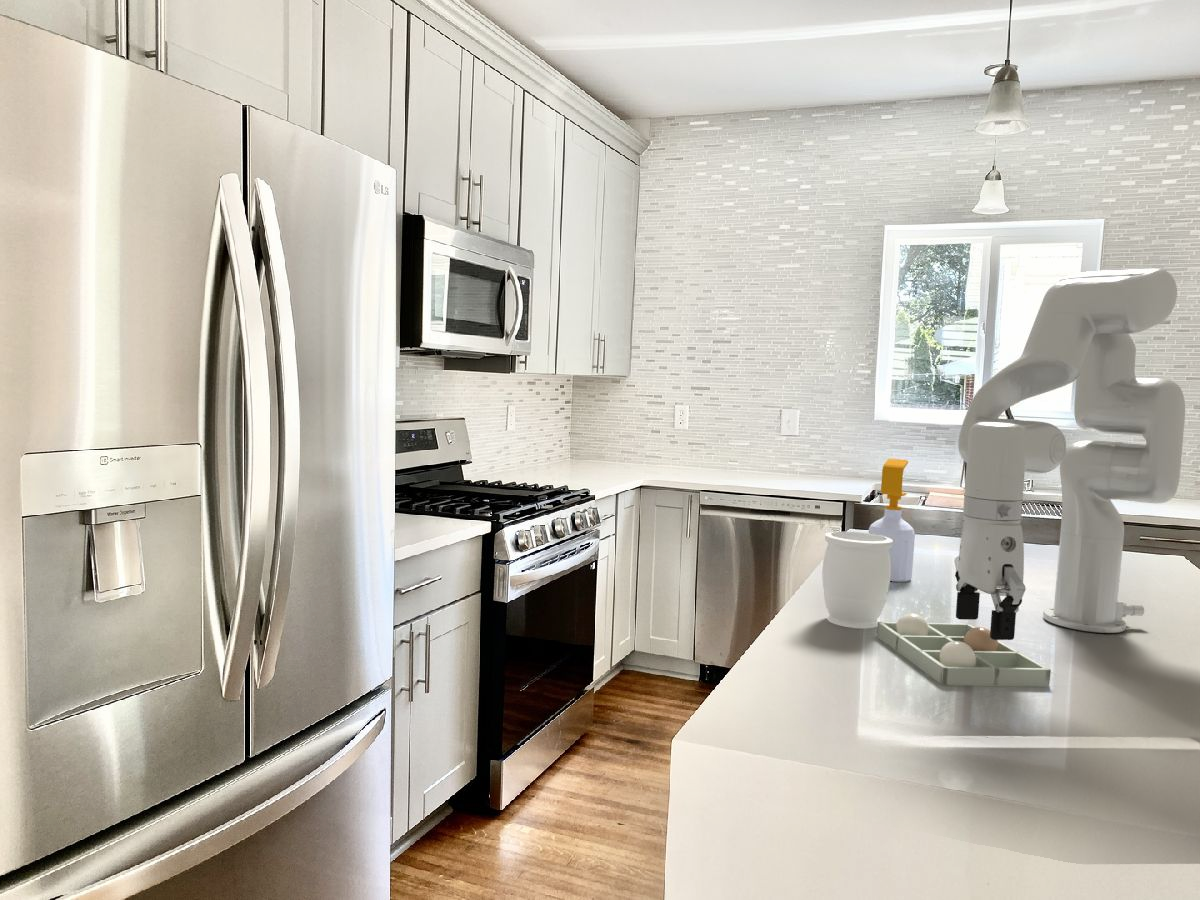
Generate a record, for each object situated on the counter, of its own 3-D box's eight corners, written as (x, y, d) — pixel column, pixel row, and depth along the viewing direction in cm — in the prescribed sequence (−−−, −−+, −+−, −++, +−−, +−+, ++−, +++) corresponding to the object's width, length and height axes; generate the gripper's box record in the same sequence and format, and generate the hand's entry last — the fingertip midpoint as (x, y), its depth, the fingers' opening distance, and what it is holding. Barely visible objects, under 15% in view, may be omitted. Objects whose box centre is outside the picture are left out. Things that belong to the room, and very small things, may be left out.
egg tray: (967, 643, 138) (968, 623, 138) (1048, 693, 117) (1050, 669, 117) (876, 642, 137) (877, 621, 137) (941, 692, 116) (943, 668, 115)
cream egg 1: (919, 639, 136) (921, 609, 136) (933, 648, 131) (935, 618, 131) (890, 639, 136) (892, 609, 135) (902, 648, 131) (905, 617, 131)
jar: (887, 623, 148) (893, 534, 147) (885, 640, 138) (892, 544, 137) (821, 615, 152) (827, 528, 150) (815, 631, 142) (822, 538, 141)
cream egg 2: (964, 669, 122) (966, 636, 122) (981, 681, 117) (984, 647, 117) (931, 669, 122) (934, 636, 121) (947, 680, 117) (950, 646, 117)
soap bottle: (915, 577, 186) (924, 460, 184) (905, 584, 178) (913, 462, 176) (872, 570, 191) (880, 456, 189) (860, 577, 183) (868, 459, 181)
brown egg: (986, 654, 130) (989, 623, 129) (1003, 664, 125) (1006, 632, 125) (956, 654, 129) (958, 623, 129) (972, 664, 125) (974, 632, 124)
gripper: (1053, 521, 117) (1043, 648, 119) (986, 501, 134) (978, 612, 136) (999, 520, 117) (989, 647, 118) (938, 500, 134) (930, 611, 135)
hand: (983, 628), depth 127 cm, fingers open, 9 cm apart
